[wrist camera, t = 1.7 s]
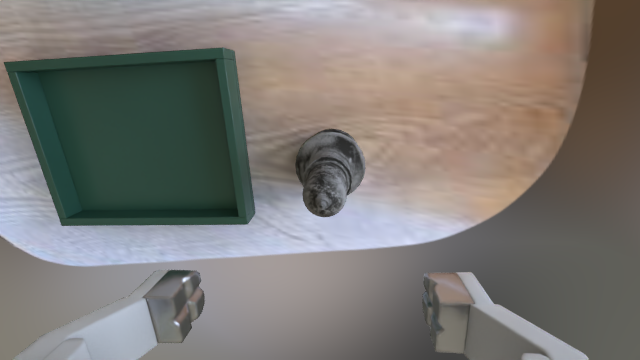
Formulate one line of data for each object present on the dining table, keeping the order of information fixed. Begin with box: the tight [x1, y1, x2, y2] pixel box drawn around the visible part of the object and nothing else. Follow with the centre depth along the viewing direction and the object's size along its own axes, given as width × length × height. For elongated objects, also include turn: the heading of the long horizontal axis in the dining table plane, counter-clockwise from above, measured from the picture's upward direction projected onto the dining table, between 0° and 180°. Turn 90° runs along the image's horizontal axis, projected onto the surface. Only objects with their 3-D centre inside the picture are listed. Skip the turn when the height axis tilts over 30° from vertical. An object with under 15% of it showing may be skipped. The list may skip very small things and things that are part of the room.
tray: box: [4, 48, 255, 226], centre depth 28 cm, size 16×20×3 cm
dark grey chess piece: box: [296, 129, 365, 217], centre depth 23 cm, size 6×6×12 cm
